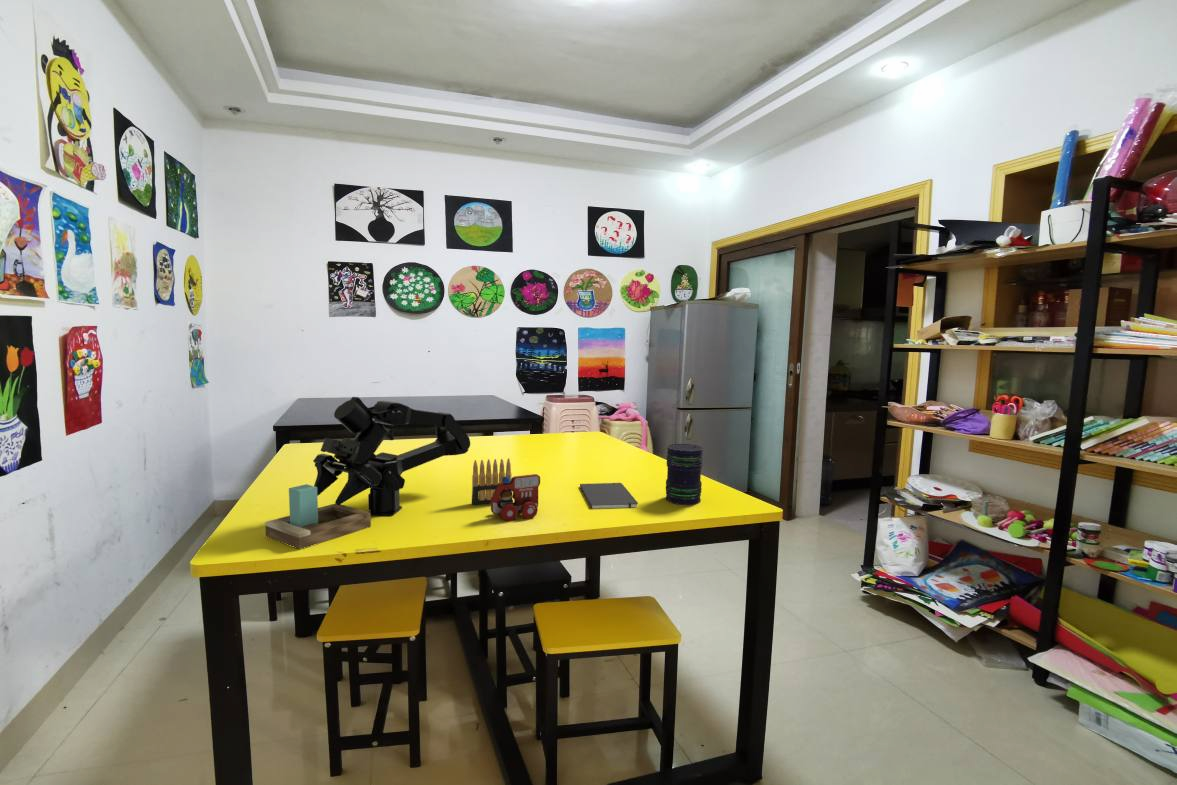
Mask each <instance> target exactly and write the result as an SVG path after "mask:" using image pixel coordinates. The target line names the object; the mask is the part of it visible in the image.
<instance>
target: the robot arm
mask: <svg viewBox="0 0 1177 785" xmlns="http://www.w3.org/2000/svg"><path fill="white" fill-rule="evenodd" d="M333 417H334V418H335V420H337V421H338V422H339V423H340V424H341V425H342V426H343V427H345V428H346V429H347V430H348V431H349V432H350V433H352V434H356V433H357V435H356V436H355V437H354V439H352V438H348V437H347V438H346V437H344V438H342V439H341V440H338V439H333V438H329V437H324V440H323V443H322V445H321V448H320V452H323V453H319V454H317V455H316V456H315V458H314V459H313V462H312V463H314V467H315V468H316V471H317V474H316V475H317V476H316V479H315V481H314V485H313V486H315V487H317V497H319V496H320V495H321V494H322V493H324V491H326V490H327V489H328V488H329V487H330V486H331V485H333V484H334V483H335V482H336V481H337V480H339V476H340V475H342V474H343V473H346V474H347V481H346V482H345V485H344V486H343V487H342V490H341V491H340V492H339V494H338V496H337V498H336V500H335V501H334V504H335V503H336V504H337V505H340V504H341V505H343V504H344V503H345V502H346V501H348V500H350V499H352V498H353V497H355V496H358V494H361V493H362V492H364V491H365V490H368V489H369V493H368V495H367V497H368V499H367V500H368V501H367V502H368V510H369V511H368V512H369V513H371V516H374V515H375V516H394V515H395V514H397V513H398V512H399V511H400V510H402V508H403V505H400V503H401V502H400V490H402V489H404V487H405V483H406V479H405V478H404V477H403V476H401V475H402V474H403V473H404V472H406V471H410V470H412V469H414V468H417V467H420V466H421V465H424V464H427V463H430V462H432V461H434V460H436V459H439V458H442V457H444V456H459V455H463V454H467V453H468V451H469V449H470V448H471V439H470V436H469V435H468V434H467V432H466V431H465V429H464V428H463V427H462V426H461V425H460V424H459V423H458V422H457V421H456V419H455V418H454V416H453V415H452V414H451V413H449V412H442V411H441V412H440V411H439V412H437V411H436V412H435V411H427V410H419V409H414V408H411V407H410V406H408V405H405V404H403V403H400V402H395V401H394V402H393V401H388V400H387V401H386V400H378V401H376V403H374V405H373V406H369V407H367V405H366V404H365V403H364V401H362V399H361V398H360V397H358V396H352V397H351V398H350V399H349V400H346V401H345V402H343V403H342V404H340V405H339V406H337V408H336V409H335V410H334V414H333ZM408 424H418V425H419V424H420V425H425V426H426V425H427V426H434V428H435V436H436V439H435V441H432V442H431V443H428V444H425V445H422V446H419V447H417V448H413V449H411V450H408V451H405V452H404V453H401V454H398V455H397V454H394V453H388V452H384V451H383V452H380V453H378V454H376V451H377V450H378V448H379V447H380V445H381V444H382V443H383V441H384V440H386V441H394V434H393V429H391V428H387V427H385V426H384V425H388V426H403V425H408ZM325 452H326V453H330V454H333V455H330V454H326V453H325Z"/></svg>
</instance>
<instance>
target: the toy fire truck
mask: <svg viewBox="0 0 1177 785" xmlns="http://www.w3.org/2000/svg"><path fill="white" fill-rule="evenodd" d="M540 484H541V476H540V475H539V474H538V473H535V474H533V473H532V474H523V475H516V476H512V479H511V480H510V478H509V477H508V476H505V477H504V478H503V479H502V483H500V484H498V486H497V488H496V490H495V492H494V494H493V496H492V498H491V504H490V511H491V513H492V514H493V515H500V516H501V518H502V519H503V520H504V521H506V522H512V521H515V519H516V518H517V516H518V512H520V513H521V516H522V517H524V518H525V519H527V520H530V519H533V518H535V517H536V516H537V514H538V510H539V509H538V507H539V487H540ZM509 489H511V490H512V492H511V490H509ZM500 497H501V498H500ZM511 498H512V499H511Z"/></svg>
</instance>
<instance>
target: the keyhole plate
mask: <svg viewBox="0 0 1177 785" xmlns="http://www.w3.org/2000/svg"><path fill="white" fill-rule="evenodd" d="M371 522H372V515H371V513H369V511H366V510H362V509H358V508H355V507H351V506H349V505H344V504H340V505H337V504H336V503H335V502H334V503H332V504H328V505H325V506H324V505H323V506H321V507H318V523H313V524H309V525H306V526H302V527H298V526H295V525H292V524H290V515H287V516H283V517H278V518H276V519H271V520H267V521H264V524H265V526H264V528H265V537H266V536H267V537H266V538H268V537H269V538H268V539H270V538H272V539H271V540H273V539H274V541H276V540H277V541H276V542H278V541H280V542H279V543H281V542H283V543H282V544H284V543H286V544H288V545H287V546H289V545H291V546H294V547H296V548H295V549H297V548H299V549H300V550H302V549H301V548H303V549H305V548H304V547H307V546H310V547H312V546H311V545H313V546H315V545H314V544H316V545H318V543H319V544H322V543H324V541H325V542H328V541H331V540H334V539H337V538H340V537H344V536H346V535H349V534H354V533H356V532H358V531H362V530H364V528H365V529H368V528H371V527H372V523H371ZM370 526H371V527H370ZM367 527H368V528H367ZM361 529H362V530H361ZM321 542H322V543H321ZM286 544H285V545H286ZM291 546H290V547H291ZM294 547H293V548H294ZM307 548H308V547H307ZM299 549H298V550H299Z"/></svg>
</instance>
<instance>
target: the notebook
mask: <svg viewBox="0 0 1177 785" xmlns="http://www.w3.org/2000/svg"><path fill="white" fill-rule="evenodd" d="M579 488H580V490H581V489H582V490H581V492H582V491H583V492H582V494H583V493H584V494H583V495H585V496H584V497H586V498H585V500H586V502H587V503H588V506H589V507H590V509H591V510H593V509H620V508H627V509H628V508H629V509H631V508H638V504H639V502H638V501H637V500H636V498H635V497H634V496H633V495H632V494H631V492H630V491H629V490H628V489H627V488H626V487H625V485H624V484H623V483H621V482H601V483H600V482H599V483H597V482H596V483H595V482H594V483H580V484H579Z"/></svg>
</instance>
